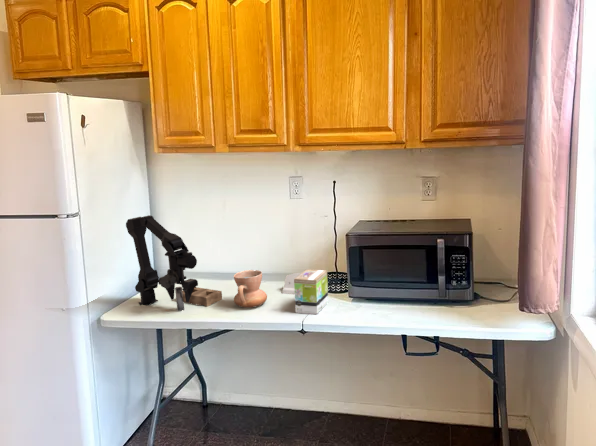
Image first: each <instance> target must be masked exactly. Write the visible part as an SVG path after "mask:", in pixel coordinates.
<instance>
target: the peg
mask: <svg viewBox="0 0 596 446" xmlns="http://www.w3.org/2000/svg"><path fill="white" fill-rule="evenodd" d="M182 289H183V287H182V286H177V287H176V286H175V291H174V294H175V301H176V309H177V311H178V312H182V310H183V311H185V302H184V300H183V290H182Z"/></svg>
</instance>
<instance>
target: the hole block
mask: <svg viewBox="0 0 596 446" xmlns="http://www.w3.org/2000/svg"><path fill="white" fill-rule="evenodd" d="M182 291H183V290H182ZM183 300H184V304H185V303H186V304H191V303H192V305H196V304H197V306H202V305H204V306H203V307H209V306H212V305H214V304H216V303H218V302H220V301H222V300H223V293H222V290H217V289H210V288H203V287H198V286H196V287H195V288H194V290H193V292H192V294H191V297H190V300H189V302H188V303H187V302H186V299H185V292H184V291H183ZM211 304H212V305H211Z"/></svg>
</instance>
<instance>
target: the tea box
mask: <svg viewBox="0 0 596 446" xmlns="http://www.w3.org/2000/svg"><path fill="white" fill-rule="evenodd" d="M300 273H301V274H300V275H298V276H297V277H296V278H295V279H294V288H295V294H294V304H295V305H294V307H295V308H294V309H295V314H305V315H307V314H309V315H310V314H311V315H318V313H319V312H321V310H323V308H325V307H326V306H327V304H328V303H329V289H328V287H329V284H328V270H327V269H326V270H325V269H324V270H323V269H322V270H321V269H305V270H304V271H302V272H300Z"/></svg>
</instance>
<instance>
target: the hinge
mask: <svg viewBox="0 0 596 446" xmlns="http://www.w3.org/2000/svg"><path fill="white" fill-rule="evenodd" d="M301 273H302V272H294V273H290V274H287V275H286V276H285V279H284V285H283V288H282V292H281V293H282V294H283V295H295V288H294V279H295V278H296V277H297V276H298V275H300V274H301Z"/></svg>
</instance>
